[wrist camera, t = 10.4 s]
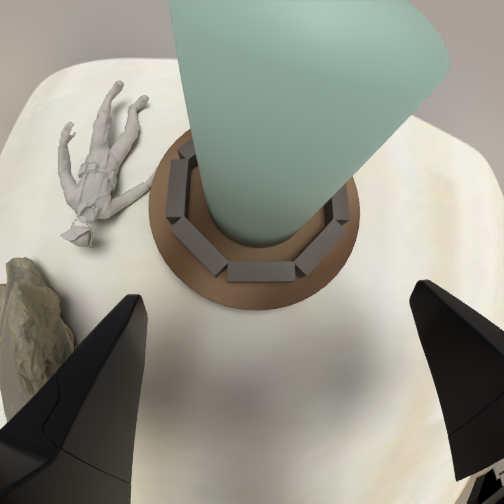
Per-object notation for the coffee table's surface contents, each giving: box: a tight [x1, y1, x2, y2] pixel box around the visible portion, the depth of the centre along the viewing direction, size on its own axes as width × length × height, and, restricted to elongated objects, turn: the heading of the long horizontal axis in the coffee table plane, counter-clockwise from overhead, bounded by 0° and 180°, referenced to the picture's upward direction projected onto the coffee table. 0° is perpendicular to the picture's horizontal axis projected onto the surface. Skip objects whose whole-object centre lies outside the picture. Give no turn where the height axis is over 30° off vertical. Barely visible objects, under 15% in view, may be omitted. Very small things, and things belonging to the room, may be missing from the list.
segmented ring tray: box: [149, 129, 360, 310], centre depth 17 cm, size 13×13×4 cm
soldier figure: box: [58, 80, 158, 247], centre depth 16 cm, size 8×5×12 cm
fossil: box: [0, 257, 74, 422], centre depth 11 cm, size 14×10×10 cm
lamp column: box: [168, 0, 450, 248], centre depth 10 cm, size 6×6×13 cm
